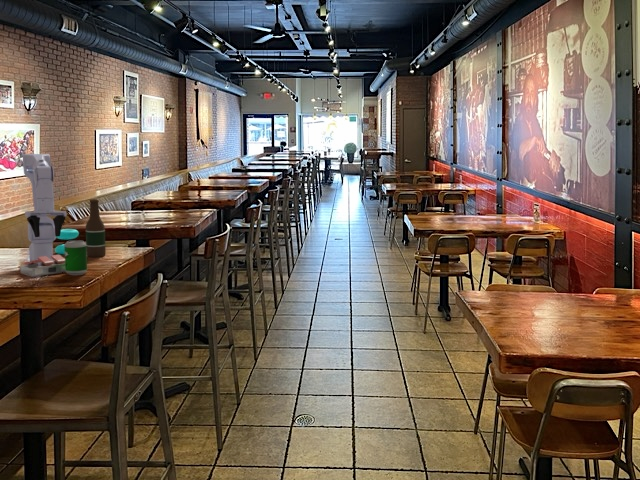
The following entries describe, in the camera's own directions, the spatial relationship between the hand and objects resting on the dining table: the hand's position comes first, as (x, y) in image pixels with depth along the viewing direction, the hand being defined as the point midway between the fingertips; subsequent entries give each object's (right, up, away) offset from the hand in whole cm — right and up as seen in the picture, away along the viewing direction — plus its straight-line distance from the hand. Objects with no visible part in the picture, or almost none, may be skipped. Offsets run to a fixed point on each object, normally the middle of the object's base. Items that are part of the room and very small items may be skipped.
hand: (47, 236), depth 237 cm
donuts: (-11, -7, +48) cm, 50 cm away
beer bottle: (+3, -8, +42) cm, 43 cm away
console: (-3, -13, +6) cm, 15 cm away
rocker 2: (-3, -9, +5) cm, 10 cm away
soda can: (+9, -14, +4) cm, 17 cm away
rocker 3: (+1, -8, +9) cm, 12 cm away
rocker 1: (-6, -9, +1) cm, 11 cm away
